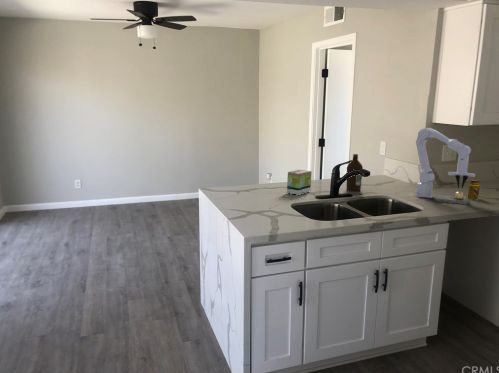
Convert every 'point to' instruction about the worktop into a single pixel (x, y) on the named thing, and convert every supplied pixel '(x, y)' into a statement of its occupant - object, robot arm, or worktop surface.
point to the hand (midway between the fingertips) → (460, 187)
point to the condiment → (473, 189)
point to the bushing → (459, 195)
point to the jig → (451, 199)
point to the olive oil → (355, 181)
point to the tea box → (299, 182)
